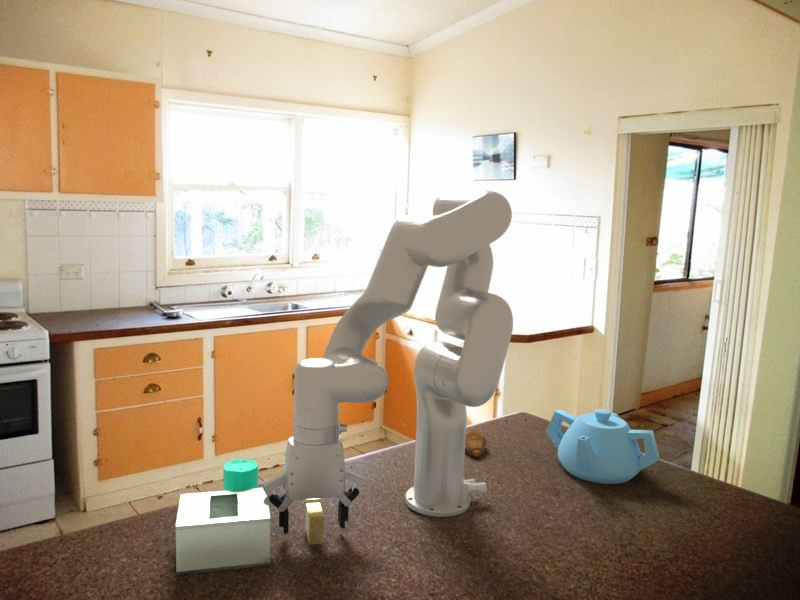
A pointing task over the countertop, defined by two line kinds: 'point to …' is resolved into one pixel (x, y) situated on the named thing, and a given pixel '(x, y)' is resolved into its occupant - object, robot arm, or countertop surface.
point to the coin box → (222, 531)
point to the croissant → (474, 443)
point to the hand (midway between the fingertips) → (313, 527)
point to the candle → (240, 475)
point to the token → (314, 523)
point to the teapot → (601, 446)
